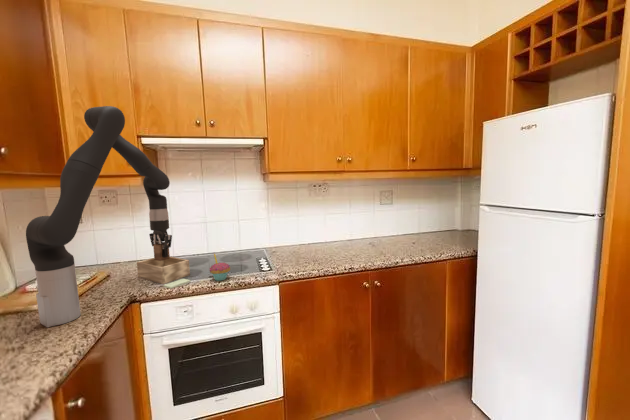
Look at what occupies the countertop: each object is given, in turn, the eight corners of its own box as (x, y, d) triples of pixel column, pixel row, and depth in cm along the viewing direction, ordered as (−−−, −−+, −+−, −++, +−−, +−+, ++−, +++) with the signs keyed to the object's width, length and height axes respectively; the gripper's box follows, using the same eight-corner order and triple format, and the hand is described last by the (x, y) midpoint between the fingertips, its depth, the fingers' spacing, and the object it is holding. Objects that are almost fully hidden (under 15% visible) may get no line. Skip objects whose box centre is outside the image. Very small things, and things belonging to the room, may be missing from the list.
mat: (170, 288, 117) (170, 287, 117) (163, 286, 120) (163, 285, 119) (190, 281, 125) (190, 280, 125) (183, 279, 127) (183, 278, 127)
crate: (162, 284, 122) (161, 268, 122) (138, 277, 132) (136, 262, 131) (190, 275, 133) (188, 260, 133) (165, 269, 143) (164, 255, 142)
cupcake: (209, 283, 122) (207, 255, 121) (210, 277, 130) (209, 250, 129) (230, 280, 124) (229, 253, 123) (230, 274, 132) (229, 248, 131)
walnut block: (160, 261, 129) (159, 245, 128) (154, 259, 131) (153, 244, 130) (169, 258, 132) (168, 243, 132) (163, 257, 135) (162, 242, 134)
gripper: (141, 219, 130) (144, 256, 132) (160, 220, 123) (163, 260, 125) (158, 217, 137) (160, 253, 138) (176, 218, 129) (179, 256, 131)
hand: (161, 256), depth 132 cm, fingers closed on walnut block, 4 cm apart
